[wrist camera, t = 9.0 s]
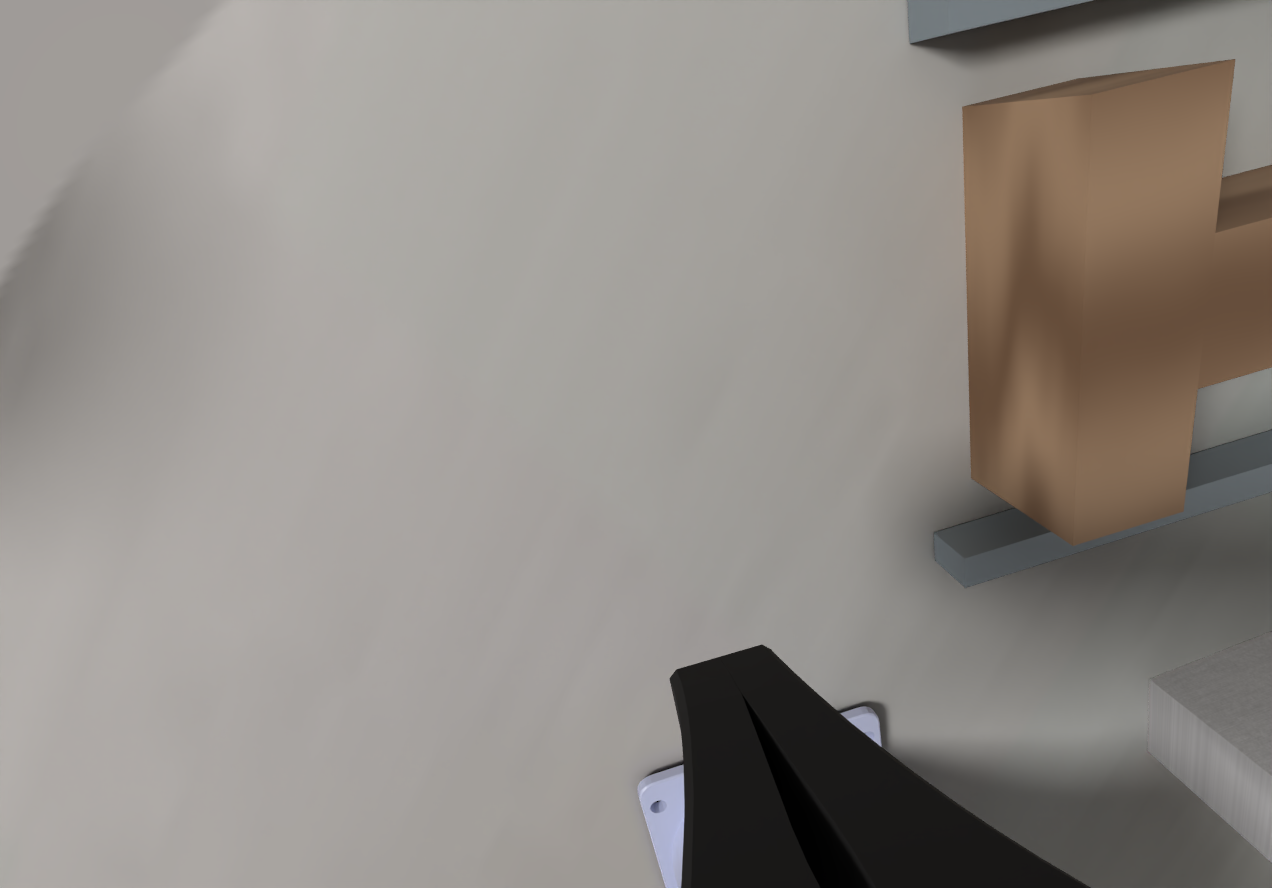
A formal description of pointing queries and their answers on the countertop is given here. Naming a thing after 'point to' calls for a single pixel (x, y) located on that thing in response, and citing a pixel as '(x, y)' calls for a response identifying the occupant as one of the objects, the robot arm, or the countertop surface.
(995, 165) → the t block
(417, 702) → the countertop surface
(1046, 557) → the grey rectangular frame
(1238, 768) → the white gabled block
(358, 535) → the countertop surface
